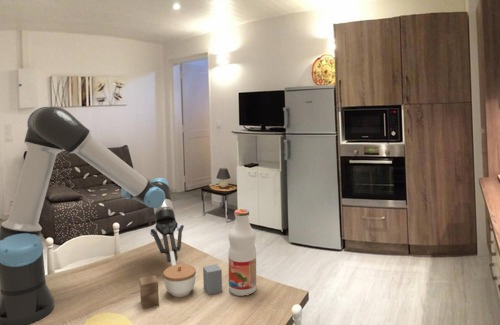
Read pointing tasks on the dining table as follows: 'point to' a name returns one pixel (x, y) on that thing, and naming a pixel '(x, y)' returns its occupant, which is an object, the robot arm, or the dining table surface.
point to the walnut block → (149, 292)
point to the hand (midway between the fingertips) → (174, 269)
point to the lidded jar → (179, 279)
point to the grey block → (212, 279)
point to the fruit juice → (242, 255)
